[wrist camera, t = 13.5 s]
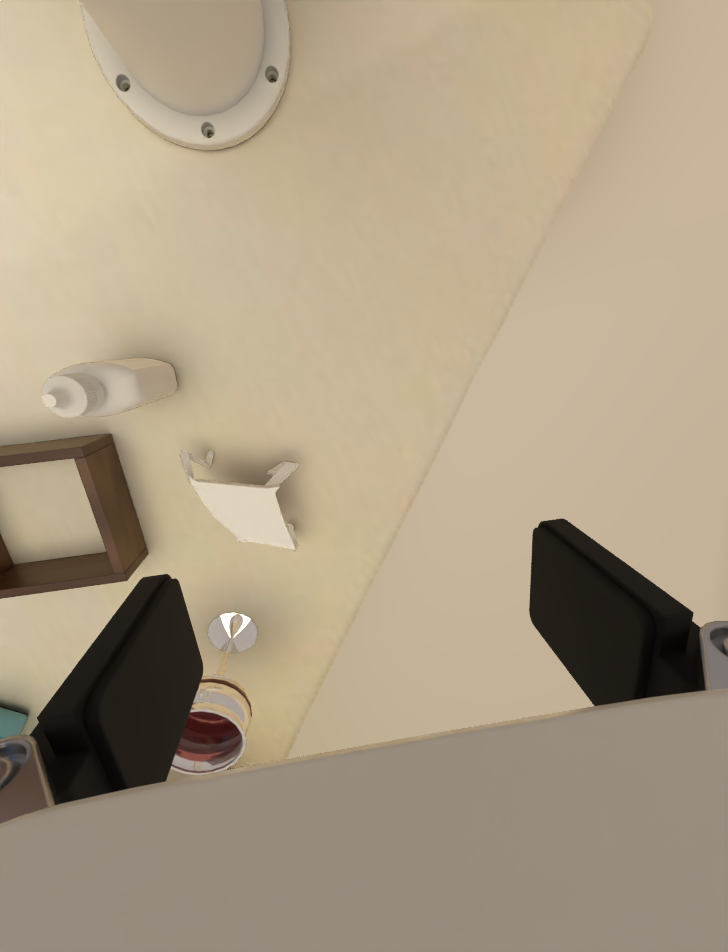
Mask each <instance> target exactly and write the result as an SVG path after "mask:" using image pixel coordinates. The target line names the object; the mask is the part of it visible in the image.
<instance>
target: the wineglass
mask: <svg viewBox="0 0 728 952" xmlns="http://www.w3.org/2000/svg"><path fill="white" fill-rule="evenodd" d="M257 635H258V634H257V627H256V626H255V624H254V622H253V621H252V620H251V619H250V618H248V617H246V616H244V615H242V614H238V613H226V614H223V615H220V616H218V617H217V618H215V619H214V620H213V621H212V622H211V624H210V625H209V628H208V638H209V640H210V641H211V643H212V644H213V645H214V646H215V647H216V648H217V649H220V650H222V651H224V655H223V657H222V660H221V663H220V666H219V668H218V671H217V674H214V675H204V676H202V679H201V682H200V685H199V688H198V691H197V694H196V696H195V699H194V702H193V705H192V708H191V711H190V714H189V717H188V719H187V722H186V725H185V728H184V731H183V734H182V737H181V739H180V742H179V745H178V748H177V751H176V754H175V757H174V760H173V762H172V765H171V769H173V770H176V771H178V772H181V773H184V774H191V775H203V774H208V773H214V772H219V771H223V770H225V769H227V768H228V767H230V766H232V765H233V764H235V763H236V762H237V760H238V759H239V758H240V757H241V756H242V754H243V752H244V748H245V745H246V741H245V736H246V734H247V731H248V728H249V725H250V722H251V716H252V713H251V705H250V701H249V698H248V695H247V693H246V692H245V690H244V688H243V687H242V686H240V685H239V684H238V683H237V682H236V681H234V680H232V679H230V678H228V677H226V676H225V671H226V667H227V663H228V658H229V654H230V653H236V652H241V651H244V650H247V649H248V648H250V647H251V646H252V645H253V644H254V642H255V641H256V638H257Z"/></svg>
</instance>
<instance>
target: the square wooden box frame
mask: <svg viewBox="0 0 728 952" xmlns="http://www.w3.org/2000/svg"><path fill="white" fill-rule="evenodd" d="M71 458H74V460H75V462H76V465H77V468H78V471H79V474H80V477H81V480H82V482H83V485H84V488H85V491H86V494H87V497H88V499H89V502H90V505H91V508H92V511H93V514H94V517H95V519H96V522H97V525H98V528H99V531H100V534H101V536H102V539H103V542H104V545H105V548H106V551H107V552H106V553H98V554H91V555H83V556H76V557H69V558H61V559H54V560H46V561H39V562H32V563H24V564H17V565H13V563H12V561H11V559H10V556H9V554H8V552H7V549H6V547H5V545H4V543H3V540H2V538H1V536H0V599H1V598H8V597H15V596H22V595H29V594H37V593H44V592H51V591H58V590H65V589H72V588H79V587H86V586H94V585H101V584H108V583H115V582H122V581H127V580H128V579H129V578H130V576H131V575H132V574H133V573H134V571H135V570H136V569H137V568H138V566H139V565H140V564H141V563H142V561H143V560H144V559H145V558H146V556H147V555H148V551H147V548H146V544H145V541H144V538H143V534H142V531H141V528H140V525H139V522H138V518H137V515H136V512H135V509H134V506H133V503H132V499H131V496H130V493H129V490H128V487H127V483H126V480H125V477H124V474H123V471H122V467H121V464H120V461H119V458H118V455H117V451H116V448H115V445H114V443H113V439H112V436H111V434H103V435H94V436H86V437H77V438H69V439H60V440H51V441H43V442H34V443H26V444H17V445H8V446H0V467H4V466H13V465H21V464H29V463H38V462H46V461H54V460H63V459H71Z"/></svg>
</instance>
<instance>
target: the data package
mask: <svg viewBox="0 0 728 952" xmlns="http://www.w3.org/2000/svg"><path fill="white" fill-rule="evenodd" d="M26 720H27V715H25V714H21V713H18V712H14V711H11V710H7V709H4V708H0V739H3V738H6V737H9V736H13V735H20V734H21V731H22V729H23V727H24V725H25V722H26Z"/></svg>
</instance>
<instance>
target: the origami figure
mask: <svg viewBox="0 0 728 952" xmlns="http://www.w3.org/2000/svg"><path fill="white" fill-rule="evenodd" d="M180 457H181V461H182V464H183V468H184V470H185V473H186V475H187V478H188V480H189V482H190V484H191V485H192V487H193V488H194V489H195V491H196V492H197V494H198V495H199V497H200V498H201V500H202V501H203V503H204V504H205V506H206V507H207V509H208V511H209V512H210V513H211V514H212V515H213V516H214V517H215V518H216V519H217V520H218V521H219V522H220V523H221V524H222V525H224V526H225V527H226V528H227V529H228V530H229V531H230V532H232V533H233V534H234V535H235V539H236V540H238V541H239V542H243V541H247V542H253V543H259V544H265V545H271V546H277V547H283V548H289V549H291V550H293V551H295V552H296V549H297V547H298V543H297V540H296V536H295V533H294V528H295V527H294V526H293V525H292V524H289V523H288V529H287V527H286V525H285V523H284V520H283V518H282V515H281V511H280V508H279V505H278V501H277V498H276V495H275V492H276V491H277V490H278V489H279V487H280V486H279V484H280V483H281V482H283V481H284V480H285V479H286V478H287V477H288V476H289V475H290V474H292V473H293V472H294V471H295V470H296V469H297V467H298V465H299V464H296V463H291V462H286V461H282V462H281V463H279V464H278V465H277V466H275V467H274V468H272V469H271V470H269V471H268V475H274V476H273V477H272V478H271V479H270V480H269V481H268V482H267V483H266V484H265V485H264V486H262V485H252V484H242V483H232V482H222V481H212V480H203V479H194V475H193V471H192V467H191V463H190V460H192V461H194V462H196V463H199V464H201V465H203V466H205V467H209V468H210V467H211V463H212V460H213V457H214V452H212V451H208V454H207V458H206V461H205V462H204V461H202V460H201V459H199V458H197V457H196V456H194V455H192V454H191V453H189V452H187V451H184V450H181V453H180ZM288 530H289V531H288Z"/></svg>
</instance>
